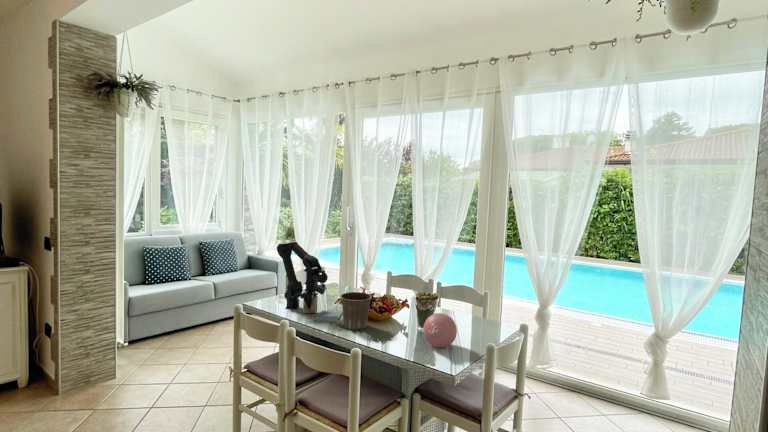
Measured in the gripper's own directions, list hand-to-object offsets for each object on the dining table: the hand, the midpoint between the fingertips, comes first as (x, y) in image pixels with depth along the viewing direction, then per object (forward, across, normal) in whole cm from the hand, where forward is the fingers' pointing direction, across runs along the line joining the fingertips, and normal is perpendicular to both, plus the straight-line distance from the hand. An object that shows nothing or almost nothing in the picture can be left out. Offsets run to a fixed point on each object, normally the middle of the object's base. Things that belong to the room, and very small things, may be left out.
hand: (310, 307), depth 231 cm
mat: (+3, -4, -12) cm, 13 cm away
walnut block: (+3, 0, 0) cm, 3 cm away
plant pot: (+4, -17, -29) cm, 34 cm away
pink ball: (+4, -38, -71) cm, 81 cm away
